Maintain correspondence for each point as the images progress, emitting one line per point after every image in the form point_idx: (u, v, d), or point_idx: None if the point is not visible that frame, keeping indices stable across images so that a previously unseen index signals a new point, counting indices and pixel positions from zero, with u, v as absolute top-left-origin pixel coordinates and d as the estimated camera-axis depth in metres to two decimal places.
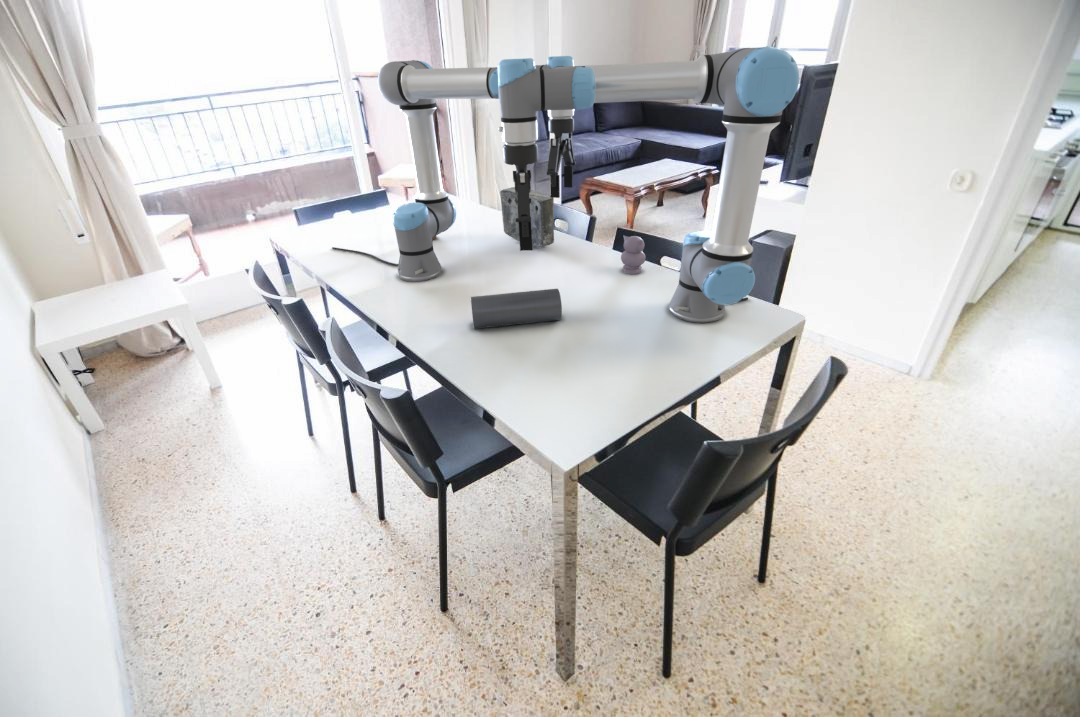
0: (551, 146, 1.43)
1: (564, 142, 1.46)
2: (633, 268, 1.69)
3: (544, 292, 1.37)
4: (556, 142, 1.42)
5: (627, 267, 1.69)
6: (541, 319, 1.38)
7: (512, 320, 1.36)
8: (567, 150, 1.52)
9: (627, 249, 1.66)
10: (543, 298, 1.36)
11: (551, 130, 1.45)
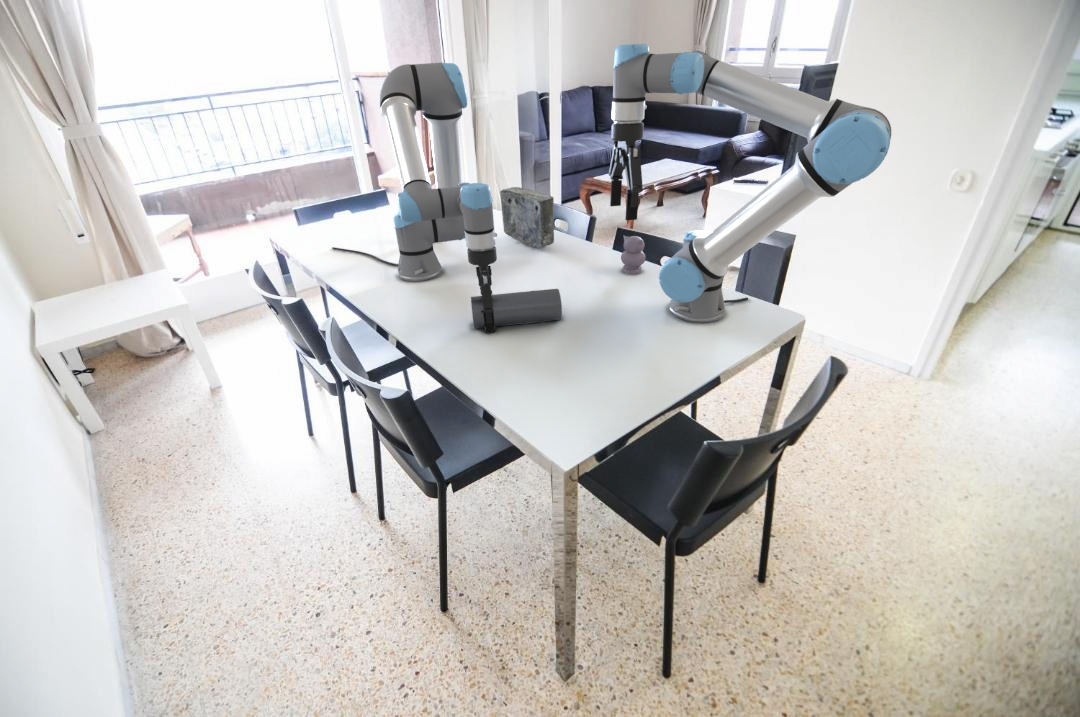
0: (482, 284, 1.27)
1: (490, 272, 1.31)
2: (633, 268, 1.69)
3: (544, 292, 1.37)
4: (488, 280, 1.27)
5: (627, 267, 1.69)
6: (541, 319, 1.38)
7: (512, 320, 1.36)
8: None
9: (627, 249, 1.66)
10: (543, 298, 1.36)
11: (475, 263, 1.27)
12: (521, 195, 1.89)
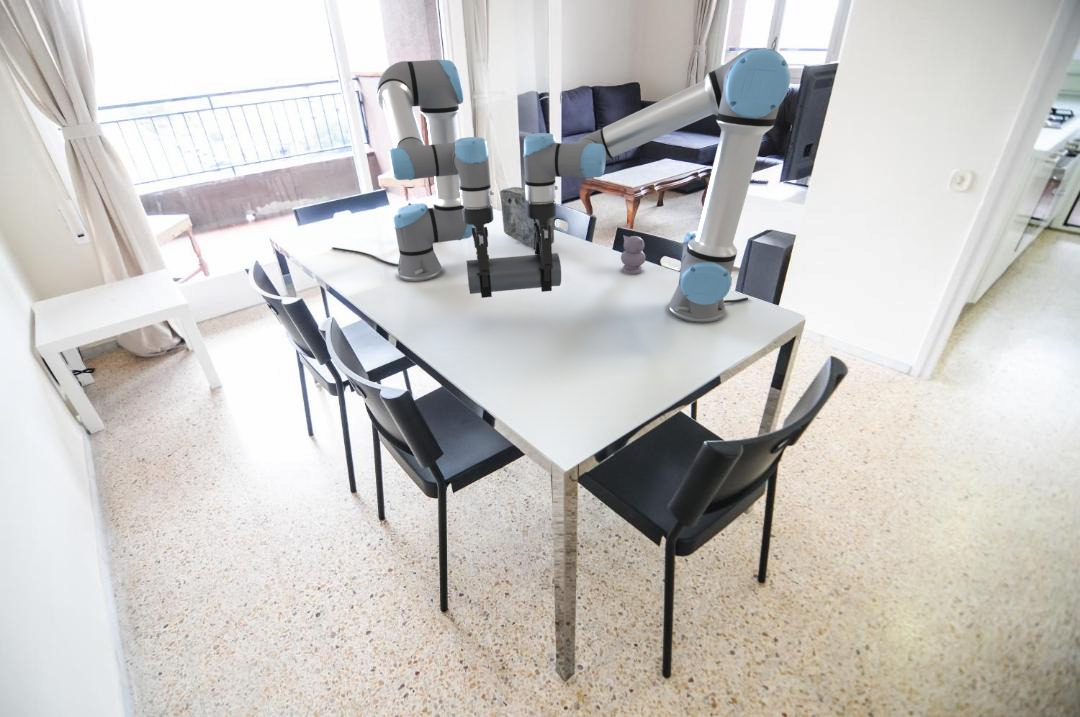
0: (478, 244, 1.22)
1: (486, 233, 1.25)
2: (633, 268, 1.69)
3: None
4: (484, 240, 1.21)
5: (627, 267, 1.69)
6: (540, 284, 1.33)
7: (509, 284, 1.31)
8: None
9: (627, 249, 1.66)
10: None
11: (470, 222, 1.22)
12: (521, 195, 1.89)
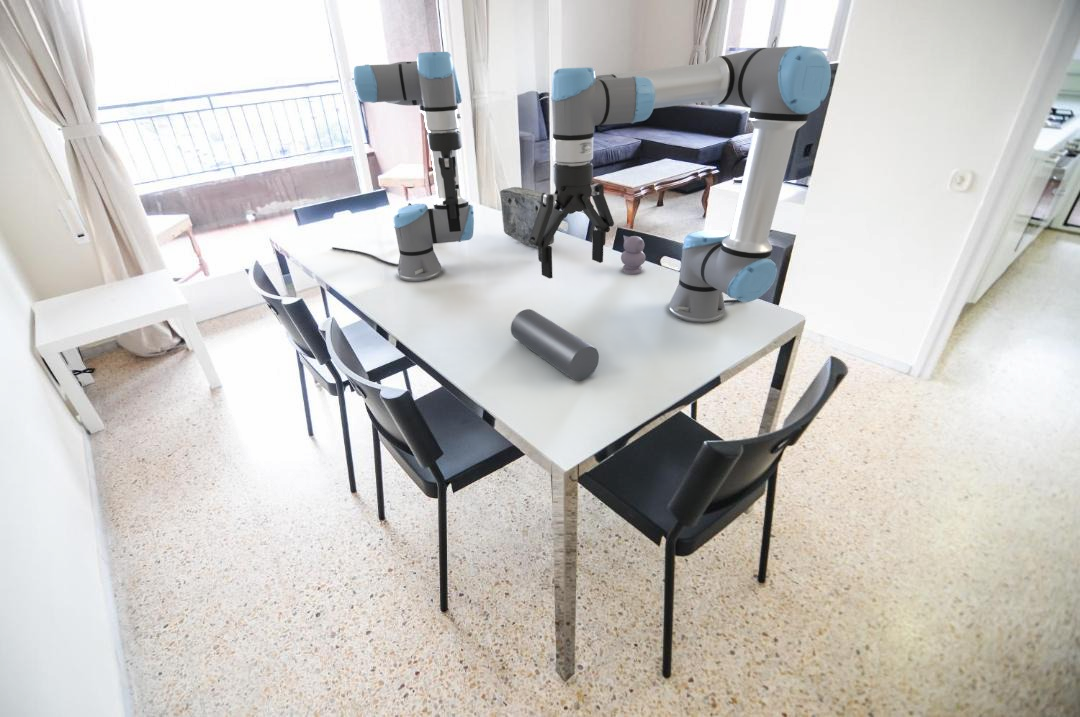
0: (443, 168, 1.11)
1: (454, 161, 1.15)
2: (633, 268, 1.69)
3: (570, 341, 1.14)
4: (449, 162, 1.11)
5: (627, 267, 1.69)
6: (556, 367, 1.17)
7: (535, 351, 1.22)
8: None
9: (627, 249, 1.66)
10: (562, 346, 1.14)
11: (436, 148, 1.12)
12: (521, 195, 1.89)
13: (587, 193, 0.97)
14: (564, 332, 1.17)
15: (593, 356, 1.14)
